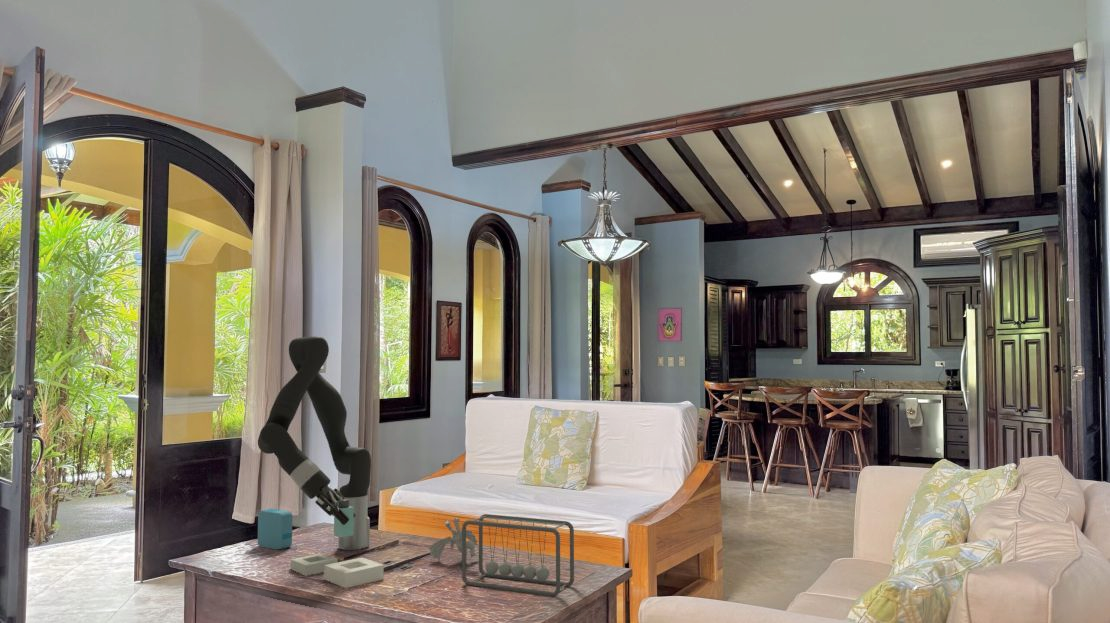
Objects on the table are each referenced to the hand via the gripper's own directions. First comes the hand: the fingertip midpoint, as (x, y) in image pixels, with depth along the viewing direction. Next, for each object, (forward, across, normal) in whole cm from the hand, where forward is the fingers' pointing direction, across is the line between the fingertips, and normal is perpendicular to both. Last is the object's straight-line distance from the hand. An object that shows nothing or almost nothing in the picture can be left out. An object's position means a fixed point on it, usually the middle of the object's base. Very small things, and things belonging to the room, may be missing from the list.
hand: (349, 520), depth 219 cm
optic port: (+13, -2, +10) cm, 17 cm away
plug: (+2, 0, +4) cm, 5 cm away
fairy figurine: (+32, +18, -9) cm, 38 cm away
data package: (-14, +36, +37) cm, 54 cm away
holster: (+2, +8, +21) cm, 23 cm away
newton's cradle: (+46, -8, -23) cm, 53 cm away
